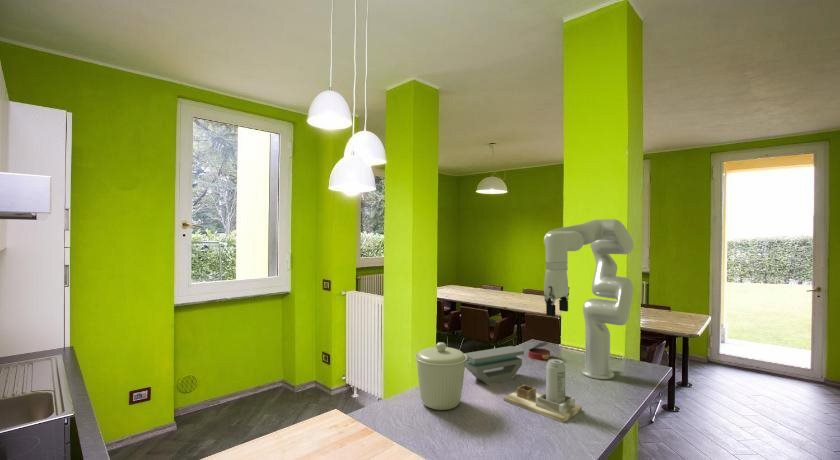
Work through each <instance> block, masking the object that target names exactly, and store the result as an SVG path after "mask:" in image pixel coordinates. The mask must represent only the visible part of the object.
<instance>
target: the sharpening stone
mask: <svg viewBox="0 0 840 460" xmlns="http://www.w3.org/2000/svg"><path fill="white" fill-rule="evenodd" d="M463 353H464V352H463ZM464 354H466V355H467V360H466V361H465V368H466V370H467V371H468V372H470V373H471V375H473V376H474V377H475V378H476V379H477V380H479V381H481V382H482V383H485V384H487V385H488V386H490V385H494V384H498V383H503V382H508V381H512V380H513V378H514V377H515V375H516V374H517V373H518V371H519V369H520V368H521V366H522V365H523V359H522V358H520V357H518V356H522V355H523V356H524V355H525V350H523V349H520V348H518V347H515V346H514V345H508V346H502V347H497V348H496V347H495V348H491V349H490V348H489V349H484V350H477V351H472V352H471V351H470V352H465V353H464Z"/></svg>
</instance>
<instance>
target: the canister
mask: <svg viewBox="0 0 840 460" xmlns="http://www.w3.org/2000/svg"><path fill="white" fill-rule="evenodd" d="M414 359H415V360H416V364H417V365H416V366H417V375H418V376H417V379H418V386H419V393H420V399H421V402H422V403H423V404H424V406H425V407H427V408H430V409H432V410H435V411H436V410H437V411H448V410H451V409H454V408H456V407H457V406H458V405H459V403H460V401H461V399H462V393H463V392H462V391H463V386H464V378H465V376H464V375H465V368H466V367H465V362H466V361H468V360H467V355H466V354H464V352H463V351H461V350H459V349H457V348H453V347H448V346H447V344H446V343H445V342H441V341H440V342H437V343H436V344H435V346H430V347H426V348H423V349H420V351H418V352H416V353H415V354H414Z"/></svg>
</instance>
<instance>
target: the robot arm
mask: <svg viewBox="0 0 840 460" xmlns="http://www.w3.org/2000/svg"><path fill="white" fill-rule="evenodd" d="M543 245H544V247H545V273H544V274H545V275H544V286H543V287H544V288H543V292H544V293H543V296H544V301H545V308H546V313H545V314H546V315H547V316H549V317H556V304H555V302H556V301H557V300H558V302H559V303H558V305H559V308H558V310H559V311H560V312H568V311H569V295H570V293H569V292H570V287H569V277H568V270H569V269H568V268H569V266H568V265H569V264H568V263H569V262H568V259H569V257H568V256H569V255H568V252H577V251H580V250H581V249H582V248H583V246H587V245H590V248H591V251H592V255H593V257H594V260H595V269H594V273H593V279H592V284H591V293H592V294H593V295H594V296H596V297H599V298H589V299H587V300H585V301H584V303H583V306H582V313H583V318H584V323H585V324H584V328H585V329H584V331H585V333H584V334H585V335H584V337H585V345H584V347H585V349H584V350H585V353H584V360H585V361H584V363H585V364H584V367H582V368H581V369H580V370H581V374H582V375H583V376H586V377H588V378H592V379H597V380H611V379H614V378H615V373H614V371H612V370H611V366H612V365H613V364H612V362H611V333H610V330H609V327H608V326H607V325H606V324H609V325H614V326H625V325H626V324H627V323H628V321H629V317H630V314H631V307H632V302H633V295H634V284H633V282H632V280H631V279H630V278H629V277H625V276H619V275H618V276H617V274H618V273H617V272H618V264H617V262H616V261H615V259H614V258H613V257H612V256H611V255H629V254H631V253H632V251H633V249H634V240H633V238H632V235H631V234H630V233H629V231H628V229H627V227H626V226H625V225H624V224H623V223H622V222H621V221H620V220H618V219H615V218H612V219H610V218H609V219H608V218H605V219H603V218H602V219H601V218H600V219H593V220H590V221H586V222H583V223H580V224H574V225H570V226H565V227H559V228H554V229H552V230H549V231H547V232H546V233H545V234H544V237H543ZM602 298H606V299H602ZM609 299H610V300H609Z"/></svg>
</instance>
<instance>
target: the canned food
mask: <svg viewBox="0 0 840 460" xmlns="http://www.w3.org/2000/svg"><path fill="white" fill-rule="evenodd" d="M548 344H549V342H547V341H542V342H540V343H538V344H536V345H535V346H533V347H531V348H529V349H528V358H530V359H531V360H532V359H533V360H536V361H548V360H549V359H551V351H550V350H548V349H545V348H541V347H545V346H547V345H548Z"/></svg>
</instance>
